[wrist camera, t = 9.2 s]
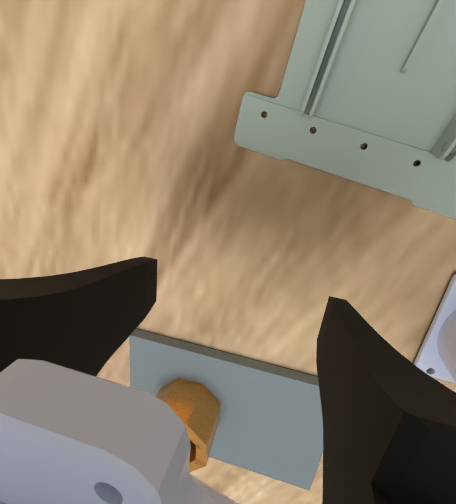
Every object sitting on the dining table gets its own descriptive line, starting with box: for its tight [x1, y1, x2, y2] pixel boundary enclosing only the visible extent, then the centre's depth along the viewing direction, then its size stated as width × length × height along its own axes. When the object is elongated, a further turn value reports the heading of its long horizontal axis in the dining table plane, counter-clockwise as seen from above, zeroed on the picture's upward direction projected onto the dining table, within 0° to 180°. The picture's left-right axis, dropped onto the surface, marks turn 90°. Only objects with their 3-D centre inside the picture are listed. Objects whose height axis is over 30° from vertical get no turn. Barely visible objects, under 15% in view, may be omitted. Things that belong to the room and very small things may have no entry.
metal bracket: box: [234, 0, 456, 219], centre depth 15 cm, size 14×6×15 cm
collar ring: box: [156, 378, 221, 472], centre depth 25 cm, size 6×6×4 cm
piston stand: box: [130, 329, 323, 490], centre depth 24 cm, size 18×12×6 cm, turn 85°
